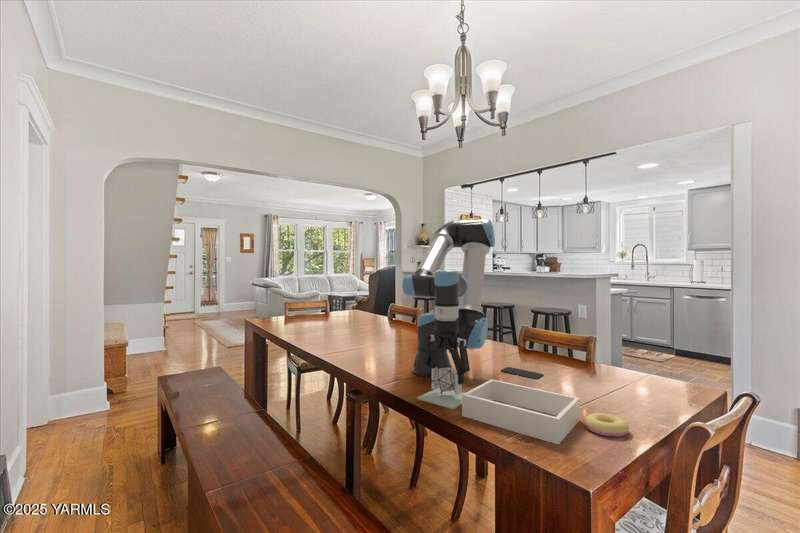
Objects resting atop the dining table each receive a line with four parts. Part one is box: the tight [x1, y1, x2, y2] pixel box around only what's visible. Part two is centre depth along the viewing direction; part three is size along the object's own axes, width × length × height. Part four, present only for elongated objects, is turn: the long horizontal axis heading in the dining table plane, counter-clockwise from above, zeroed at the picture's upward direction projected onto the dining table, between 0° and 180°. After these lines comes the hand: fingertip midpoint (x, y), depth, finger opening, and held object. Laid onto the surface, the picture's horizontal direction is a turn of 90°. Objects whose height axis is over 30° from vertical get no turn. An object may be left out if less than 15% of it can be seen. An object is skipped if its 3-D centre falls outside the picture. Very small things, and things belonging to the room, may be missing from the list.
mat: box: [417, 388, 465, 410], centre depth 120 cm, size 13×13×1 cm
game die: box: [430, 364, 457, 394], centre depth 120 cm, size 9×8×10 cm
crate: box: [461, 378, 581, 445], centre depth 104 cm, size 26×18×6 cm
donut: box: [584, 412, 630, 438], centre depth 97 cm, size 10×5×9 cm
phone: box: [500, 366, 545, 380], centre depth 146 cm, size 7×1×15 cm
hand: (446, 390), depth 120 cm, fingers closed on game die, 8 cm apart
